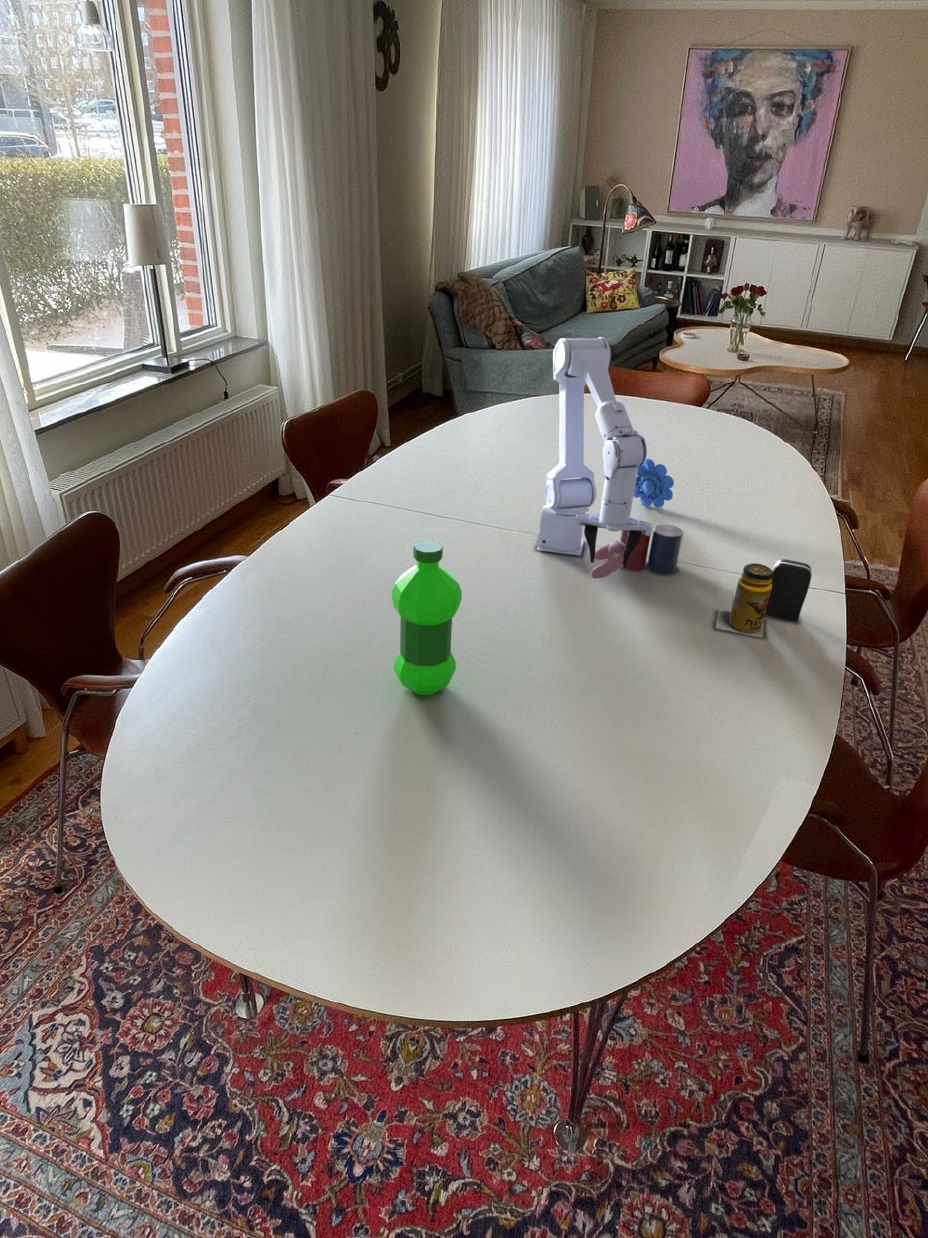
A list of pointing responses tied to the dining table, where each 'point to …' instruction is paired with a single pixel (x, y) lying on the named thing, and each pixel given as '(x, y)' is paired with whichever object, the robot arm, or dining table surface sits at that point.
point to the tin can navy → (665, 549)
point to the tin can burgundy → (636, 552)
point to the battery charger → (788, 589)
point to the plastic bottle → (426, 621)
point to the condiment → (748, 602)
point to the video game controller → (609, 559)
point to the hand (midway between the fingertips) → (607, 562)
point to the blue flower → (653, 484)
